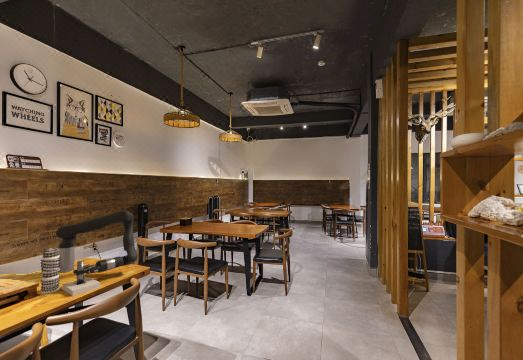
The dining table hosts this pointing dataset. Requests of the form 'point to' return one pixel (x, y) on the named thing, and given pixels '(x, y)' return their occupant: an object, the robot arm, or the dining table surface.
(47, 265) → the tiered tower model
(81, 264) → the metal pin
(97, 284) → the hole plate
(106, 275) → the dining table surface
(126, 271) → the dining table surface
